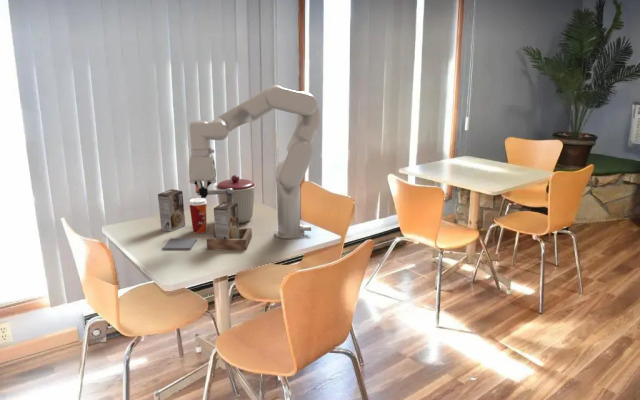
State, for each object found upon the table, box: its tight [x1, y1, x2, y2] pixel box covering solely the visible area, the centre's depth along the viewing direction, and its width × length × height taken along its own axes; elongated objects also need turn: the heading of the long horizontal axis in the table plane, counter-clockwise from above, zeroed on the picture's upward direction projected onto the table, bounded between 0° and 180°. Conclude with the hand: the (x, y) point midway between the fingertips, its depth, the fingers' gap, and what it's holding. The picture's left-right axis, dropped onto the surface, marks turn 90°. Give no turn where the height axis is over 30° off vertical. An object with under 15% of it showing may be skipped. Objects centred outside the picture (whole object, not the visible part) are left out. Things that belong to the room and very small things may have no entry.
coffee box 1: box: [157, 189, 186, 232], centre depth 248 cm, size 9×6×16 cm
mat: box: [162, 237, 198, 251], centre depth 229 cm, size 11×11×1 cm
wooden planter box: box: [206, 194, 253, 251], centre depth 230 cm, size 16×18×18 cm
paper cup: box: [188, 197, 208, 234], centre depth 243 cm, size 8×8×14 cm
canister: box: [215, 174, 257, 224], centre depth 257 cm, size 18×18×21 cm
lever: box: [194, 184, 233, 196], centre depth 233 cm, size 15×3×4 cm, turn 98°
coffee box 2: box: [213, 202, 241, 239], centre depth 228 cm, size 9×6×16 cm
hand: (204, 197), depth 230 cm, fingers closed
